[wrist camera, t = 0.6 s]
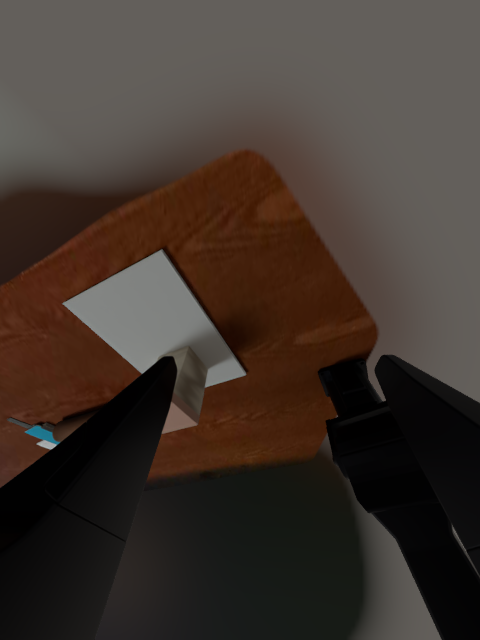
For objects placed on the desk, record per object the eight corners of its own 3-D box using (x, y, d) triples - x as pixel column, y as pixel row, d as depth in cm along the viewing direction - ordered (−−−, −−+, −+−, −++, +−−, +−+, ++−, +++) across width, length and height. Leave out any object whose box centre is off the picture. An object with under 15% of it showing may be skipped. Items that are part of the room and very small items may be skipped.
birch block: (208, 369, 28) (197, 424, 22) (179, 378, 29) (161, 433, 23) (188, 345, 26) (170, 400, 19) (158, 356, 27) (131, 412, 20)
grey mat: (246, 372, 29) (246, 374, 29) (170, 395, 33) (169, 398, 32) (162, 248, 19) (161, 250, 19) (65, 301, 22) (62, 303, 22)
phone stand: (-3, 425, 40) (-12, 433, 39) (24, 407, 36) (15, 415, 35) (87, 458, 49) (83, 466, 48) (116, 447, 45) (112, 455, 44)
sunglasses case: (95, 438, 42) (60, 464, 35) (82, 408, 41) (45, 428, 35) (162, 419, 37) (136, 445, 31) (148, 385, 37) (119, 404, 30)
